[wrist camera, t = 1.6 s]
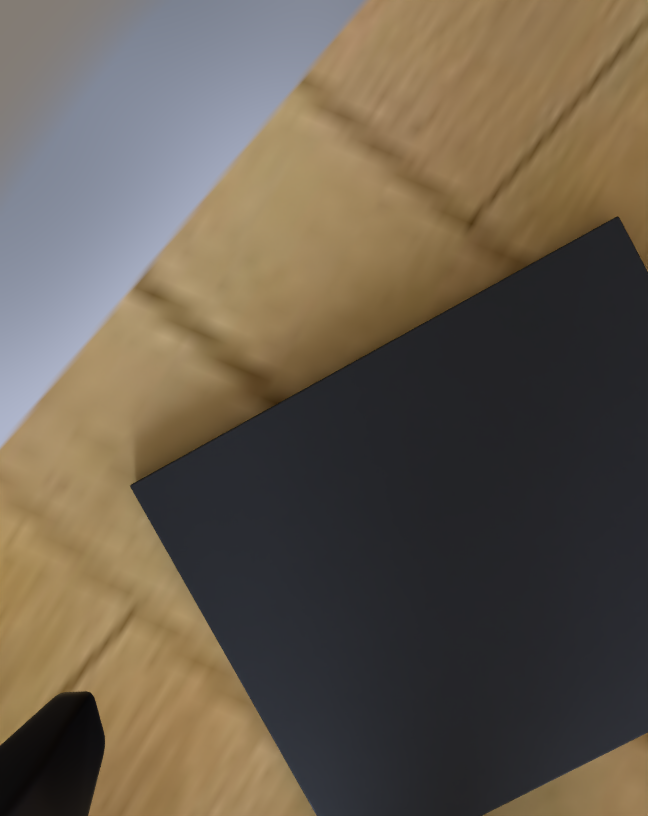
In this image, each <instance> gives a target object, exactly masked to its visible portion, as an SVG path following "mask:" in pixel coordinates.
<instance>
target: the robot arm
mask: <svg viewBox="0 0 648 816" xmlns="http://www.w3.org/2000/svg"><path fill="white" fill-rule="evenodd" d="M104 749H105V735H104V731H103V727H102V723H101V720H100V716H99V712H98V709H97V705H96V701H95V698H94V696H93V695H92V694H91V693H90V692H87V691H85V692H64V693H60V694H58V695H57V696H55V697H54V698H53V699H52V700H50V701H49V702H48V703H47V704H46V705H45V706H44V707H43V708H42V709H40V710H39V711H38V712H37V713H36V714H35V715H34V716H33V717H32V718H30V719H29V720H28V721H27V722H26V723H25V724H24V725H23V726H22V727H20V728H19V729H18V730H17V731H16V732H15V733H14V734H13V735H11V736H10V737H9V738H8V739H7V740H6V741H5V742H4V743H3V744H1V745H0V816H88V814H89V810H90V806H91V802H92V798H93V794H94V790H95V786H96V783H97V779H98V775H99V771H100V767H101V763H102V759H103V755H104Z"/></svg>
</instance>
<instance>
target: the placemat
mask: <svg viewBox="0 0 648 816" xmlns="http://www.w3.org/2000/svg"><path fill="white" fill-rule="evenodd" d="M130 487H131V489H132V490H133V492H134V494H135V496H136V497H137V499H138V501H139V503H140V505H141V506H142V508H143V510H144V512H145V513H146V515H147V517H148V519H149V520H150V522H151V524H152V526H153V527H154V529H155V531H156V533H157V535H158V536H159V538H160V540H161V542H162V543H163V545H164V547H165V549H166V550H167V552H168V554H169V556H170V557H171V559H172V561H173V563H174V565H175V566H176V568H177V570H178V572H179V573H180V575H181V577H182V579H183V580H184V582H185V584H186V586H187V587H188V589H189V591H190V593H191V595H192V596H193V598H194V600H195V602H196V603H197V605H198V607H199V609H200V610H201V612H202V614H203V616H204V617H205V619H206V621H207V623H208V625H209V626H210V628H211V630H212V632H213V633H214V635H215V637H216V639H217V640H218V642H219V644H220V646H221V647H222V649H223V651H224V653H225V655H226V656H227V658H228V660H229V662H230V663H231V665H232V667H233V669H234V670H235V672H236V674H237V676H238V677H239V679H240V681H241V683H242V685H243V686H244V688H245V690H246V692H247V693H248V695H249V697H250V699H251V700H252V702H253V704H254V706H255V707H256V709H257V711H258V713H259V715H260V716H261V718H262V720H263V722H264V723H265V725H266V727H267V729H268V730H269V732H270V734H271V736H272V737H273V739H274V741H275V743H276V744H277V746H278V748H279V750H280V752H281V753H282V755H283V757H284V759H285V760H286V762H287V764H288V766H289V767H290V769H291V771H292V773H293V774H294V776H295V778H296V780H297V782H298V783H299V785H300V787H301V789H302V790H303V792H304V794H305V796H306V797H307V799H308V801H309V803H310V804H311V806H312V808H313V810H314V812H315V813H316V815H317V816H482V815H484V814H486V813H488V812H490V811H492V810H494V809H496V808H498V807H500V806H502V805H504V804H506V803H508V802H510V801H512V800H514V799H516V798H518V797H520V796H522V795H524V794H526V793H528V792H530V791H532V790H534V789H536V788H538V787H540V786H542V785H544V784H546V783H548V782H550V781H552V780H554V779H556V778H558V777H560V776H562V775H564V774H566V773H568V772H570V771H572V770H574V769H576V768H578V767H580V766H582V765H584V764H586V763H588V762H590V761H592V760H594V759H596V758H598V757H600V756H602V755H604V754H606V753H608V752H610V751H612V750H614V749H616V748H618V747H620V746H622V745H624V744H626V743H627V742H629V741H631V740H633V739H635V738H637V737H639V736H641V735H643V734H645V733H647V732H648V272H647V270H646V268H645V266H644V264H643V262H642V260H641V258H640V256H639V254H638V253H637V251H636V249H635V247H634V245H633V243H632V241H631V239H630V237H629V235H628V233H627V232H626V230H625V228H624V226H623V224H622V222H621V220H620V218H619V217H615V218H614V219H612V220H610V221H608V222H606V223H604V224H603V225H601V226H599V227H597V228H595V229H594V230H592V231H590V232H588V233H586V234H585V235H583V236H581V237H579V238H577V239H575V240H574V241H572V242H570V243H568V244H566V245H565V246H563V247H561V248H559V249H557V250H556V251H554V252H552V253H550V254H548V255H546V256H545V257H543V258H541V259H539V260H537V261H536V262H534V263H532V264H530V265H528V266H527V267H525V268H523V269H521V270H519V271H517V272H516V273H514V274H512V275H510V276H508V277H507V278H505V279H503V280H501V281H499V282H498V283H496V284H494V285H492V286H490V287H488V288H487V289H485V290H483V291H481V292H479V293H478V294H476V295H474V296H472V297H470V298H469V299H467V300H465V301H463V302H461V303H459V304H458V305H456V306H454V307H452V308H450V309H449V310H447V311H445V312H443V313H441V314H440V315H438V316H436V317H434V318H432V319H430V320H429V321H427V322H425V323H423V324H421V325H420V326H418V327H416V328H414V329H412V330H411V331H409V332H407V333H405V334H403V335H401V336H400V337H398V338H396V339H394V340H392V341H391V342H389V343H387V344H385V345H383V346H382V347H380V348H378V349H376V350H374V351H372V352H371V353H369V354H367V355H365V356H363V357H362V358H360V359H358V360H356V361H354V362H353V363H351V364H349V365H347V366H345V367H343V368H342V369H340V370H338V371H336V372H334V373H333V374H331V375H329V376H327V377H325V378H324V379H322V380H320V381H318V382H316V383H314V384H313V385H311V386H309V387H307V388H305V389H304V390H302V391H300V392H298V393H296V394H295V395H293V396H291V397H289V398H287V399H285V400H284V401H282V402H280V403H278V404H276V405H275V406H273V407H271V408H269V409H267V410H266V411H264V412H262V413H260V414H258V415H256V416H255V417H253V418H251V419H249V420H247V421H246V422H244V423H242V424H240V425H238V426H237V427H235V428H233V429H231V430H229V431H228V432H226V433H224V434H222V435H220V436H218V437H217V438H215V439H213V440H211V441H209V442H208V443H206V444H204V445H202V446H200V447H199V448H197V449H195V450H193V451H191V452H189V453H188V454H186V455H184V456H182V457H180V458H179V459H177V460H175V461H173V462H171V463H170V464H168V465H166V466H164V467H162V468H160V469H159V470H157V471H155V472H153V473H151V474H150V475H148V476H146V477H144V478H142V479H141V480H139V481H137V482H135V483H133V484H131V485H130Z"/></svg>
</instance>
